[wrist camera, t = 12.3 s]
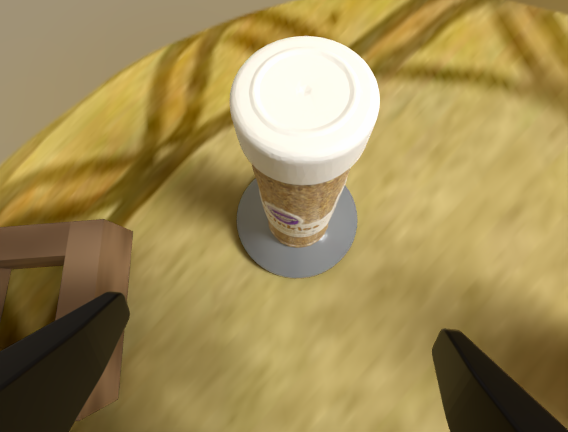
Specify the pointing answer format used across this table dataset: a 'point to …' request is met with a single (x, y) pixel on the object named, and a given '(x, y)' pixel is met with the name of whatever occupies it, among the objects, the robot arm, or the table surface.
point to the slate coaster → (292, 259)
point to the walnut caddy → (75, 275)
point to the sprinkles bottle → (303, 129)
